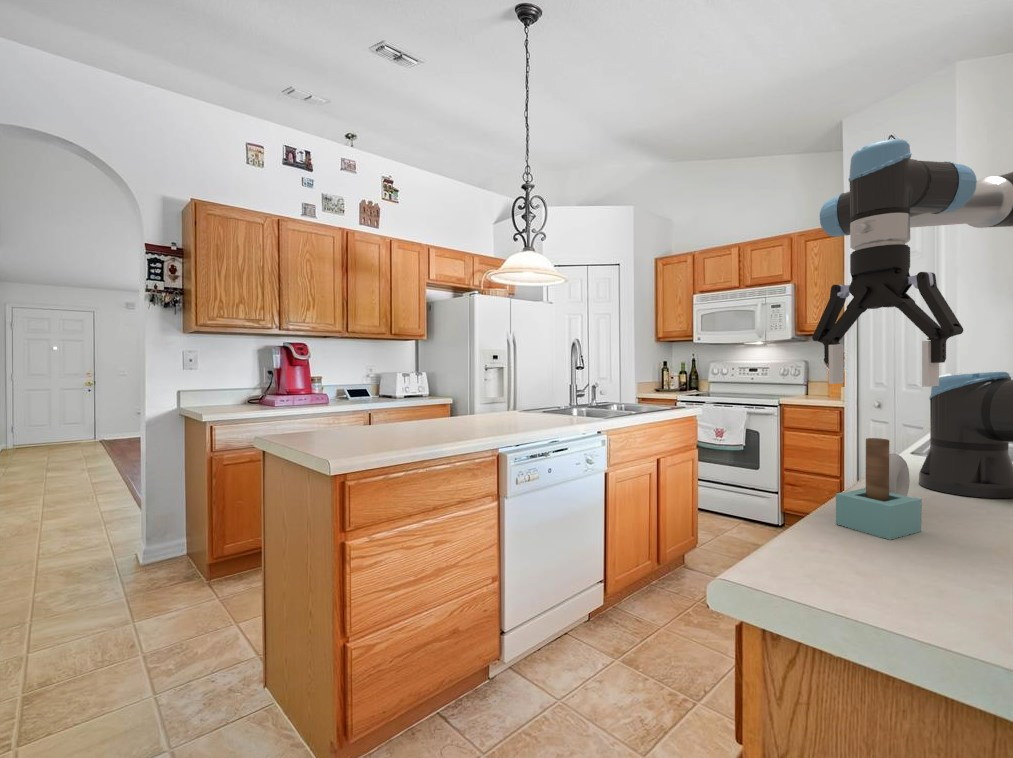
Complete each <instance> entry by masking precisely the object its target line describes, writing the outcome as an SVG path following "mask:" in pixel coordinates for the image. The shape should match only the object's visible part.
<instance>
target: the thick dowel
mask: <svg viewBox="0 0 1013 758" xmlns="http://www.w3.org/2000/svg"><path fill="white" fill-rule="evenodd" d="M889 454H890V439H888V438H878V437H875V438H874V437H868V438H865V488H866V498H870V499H874V500H879V501H883V502H885V501H889Z"/></svg>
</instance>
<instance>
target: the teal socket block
mask: <svg viewBox="0 0 1013 758" xmlns="http://www.w3.org/2000/svg"><path fill="white" fill-rule="evenodd" d="M922 506H923V505H922V499H921V498H917V497H914V496H913V497H912V496H908V495H907V496H903V495H898V494H894V493H889V501H885V502H883V501H879V500H874V499H870V498H866V487H865V488H859V489H855V490H854V489H853V490H848V491H844V492H839V493H835V525H836V524H838V525H837V526H839V525H842V526H841V527H843V526H845V527H844V528H846V527H848V528H847V529H850V528H852V529H851V530H853V529H855V530H854V531H857V530H858V532H860V531H862V532H861V533H864V532H865V533H864V534H867V533H869V534H868V535H871V534H872V535H871V536H874V537H879V538H882V537H883V538H882V539H885V538H886V540H889V541H891V540H894V539H899V538H902V536H903V537H906V536H909V534H910V535H914V534H917V533H921V532H922ZM913 533H914V534H913ZM898 537H899V538H898Z"/></svg>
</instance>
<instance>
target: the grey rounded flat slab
mask: <svg viewBox="0 0 1013 758" xmlns="http://www.w3.org/2000/svg"><path fill="white" fill-rule="evenodd" d="M909 487H910V469H909V465H908V463H907V461H906V460H905V459H904V458H903V457H902V456H901V455H900V454H896V453H889V493H894V494H898V495H903V496H908V494H909V493H908V492H909V489H910V488H909Z"/></svg>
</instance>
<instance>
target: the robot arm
mask: <svg viewBox="0 0 1013 758" xmlns="http://www.w3.org/2000/svg"><path fill="white" fill-rule="evenodd" d="M849 164H850V166H849V176H848V177H849V178H848V180H847V181H848V182H849V191H847V192H842V193H840V194H838V195H836V196H833V198H830V199H828V200H827V201H826V202H824V204H823V205H822V206H821V209H820V211H819V224H820V226H821V230H823V231H824V233H826V234H827V236H830V237H834V238H840V237H843V236H849V237H850V238H849V240H850V242H849V243H850V244H849V245H850V249H852V250H854V251H852V252H851V253H850V255H849V263H850V265H849V273H850V276H851V283H850V284H832V286H831V287H830V294H829V299H828V302H827V304H826V306H825V309H824V310H823V313H822V315H821V317H820V319H819V321H818V323H817V326H816V328H815V330H814V332H813V334H812V338H811V339H812V341H814V342H818V343H820V344H822V345H823V346H824V347H823V349H824V351H823V352H824V353H823V356H824V359H823V360H824V363H825V364H828V385H829V384H831V385H832V384H833V385H836V384H844V381H845V380H844V376H845V375H844V374H845V373H844V372H845V371H844V367H845V365H844V363H845V362H844V359H845V358H844V344H841V342H840V341H841V340H842V338H844V336H845V335H846V334H847V333H848V331H849V330H850V329H851V327H853V325H854V324H855V322H856V321H857V320H858V319H859V318H860V317H861V315H863V313H865V312H866V311H867V310H874V309H876V310H877V309H880V308H896V309H898V310H899V311H900V312H901V313H903V314H904V316H906V317H907V319H909V321H910V322H912V324H914V326H916V327H917V328H918V329H919V330H920V331H921V332H922V333H923V334H924V335H925V336H926V337H927V338H926V340H922V343H921V346H922V347H921V353H922V355H921V359H922V360H921V361H922V362H921V386H922V387H925V388H926V387H927V388H929V387H930V388H931V390H930V396H929V402H930V405H929V406H930V414H929V415H930V417H929V419H930V428H929V430H930V432H929V433H930V434H929V436H930V441H929V443H930V444H929V447H930V448H929V449H928V452H927V454H926V457H925V458H924V459H925V460H924V462H923V464H922V465H921V469H920V471H919V472H918V473H919V474H918V484H919V485H920V486H921V487H924V488H926V489H929V490H933V491H938V492H941V493H946V494H952V495H959V496H966V497H973V498H986V499H987V498H988V499H1010V498H1013V462H1012V459H1011V457H1010V454H1009V453H1010V452H1009V444H1010V443H1013V379H1012V376H1010V373H1009V372H1007V371H990V372H977V373H974V372H973V373H963V374H952V375H944V376H940V364H941V363H942V364H944V363H946V360H947V341H948V339H950V338H953V337H955V336H959V335H961V334H963V333H964V328H963V325H962V324H961V323H960V320H959V319H958V318H957V316H956V315H955V312H954V311H953V310H952V308H951V306H950V305H949V303H948V301H947V300H946V299H945V297H944V296H943V294H942V292H941V291H940V289H939V288H938V284H937V276H936V274H935V272H931V271H930V272H929V271H920V272H918V273H917V274H915V275H910V268H911V247H910V246H909V245H908V242H910V241H911V228H923V227H937V226H938V227H939V226H950V225H951V226H953V225H963V224H964V225H968V226H970V227H973V228H978V229H980V228H981V229H983V228H1003V227H1004V228H1005V227H1011V228H1012V227H1013V171H1012V172H1008V173H1005V174H1001V175H995V176H986V177H982V178H980V179H978V180H977V175H976V172H974V170H973V169H972V168H971V167H969V166H967V165H965V164H961V163H954V162H952V161H930V160H918V159H913V158H912V153H911V145H910V144H909V143H908V142H907V140H905V139H901V138H893V139H885V140H884V139H883V140H879V141H876V142H872V143H869V144H867V145H864V146H863V147H861V148H859V149H857V150H856V151H855V152H854V153H853V154H852V155H851V158H850V163H849ZM912 286H914V288H915V289H917V290H918V292H919V294H920V295H921V297H922V299H923V300H924V302H925V304H926V305H927V307H928V308H929V310H930V312H931V314H932V315H933V317H934V319H935V320H936V321H937V322H936V321H935V320H934V319H933V318H932V317H931V316H930V315H928V314H927V312H925V311H924V310H923V309H922V308H921V307H920V306H919V305H918V304H917V303H916V300H914V298H912V297H911V296H910V295H909V294H908V293H907V292H908V291H909V290H910V288H911V287H912ZM850 294H851V296H852V297H853V298H852V299H851V300H850V301H849V303H848V304H846V309H845V310H844V312H843V313H842V314H841V311H843V307H844V305H845V303H846V301H847V298H848V297H850ZM840 314H841V316H840ZM839 316H840V317H839Z"/></svg>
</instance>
